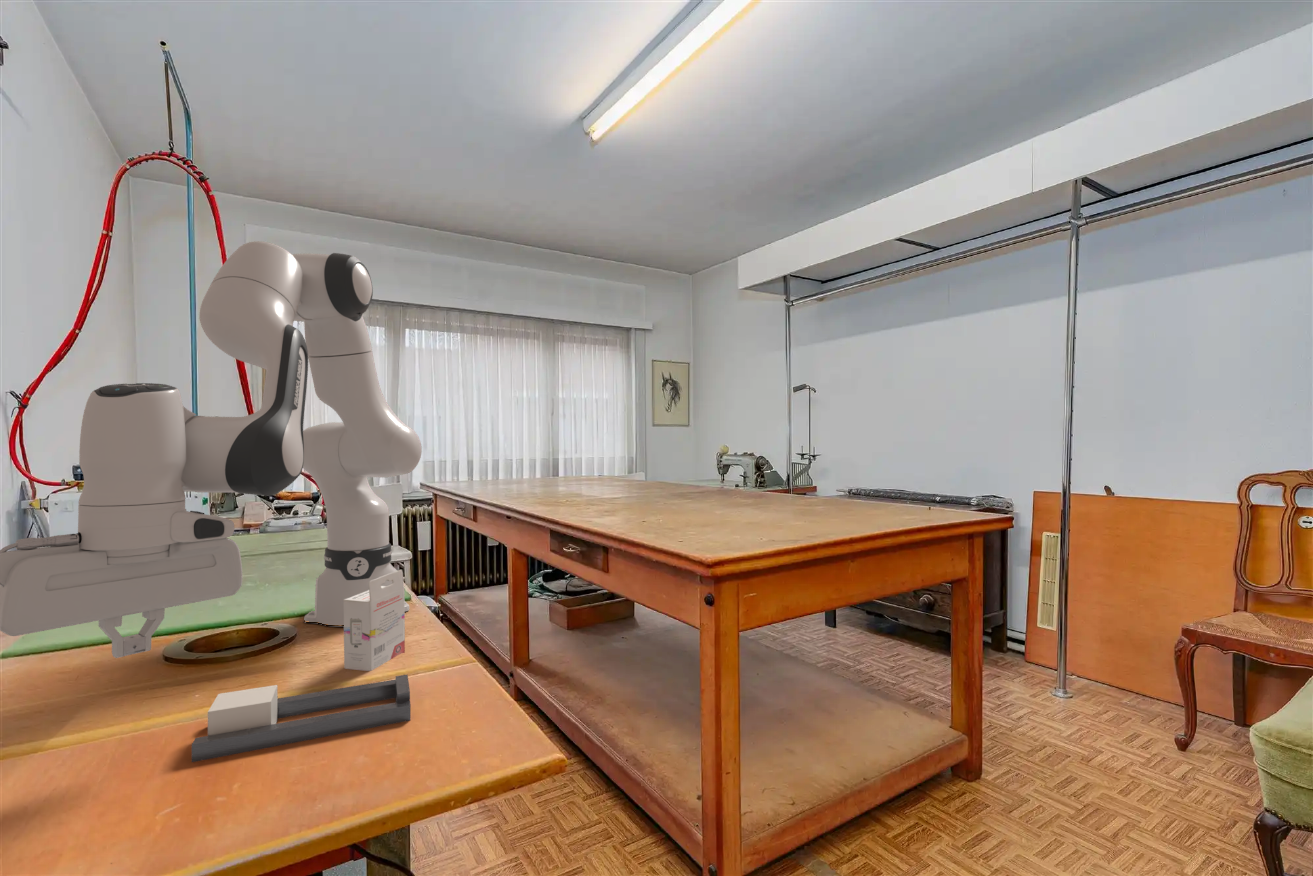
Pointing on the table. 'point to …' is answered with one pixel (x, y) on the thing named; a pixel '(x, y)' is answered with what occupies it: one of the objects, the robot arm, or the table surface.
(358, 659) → the ink cartridge box
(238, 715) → the block
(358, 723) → the chute
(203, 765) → the table surface
